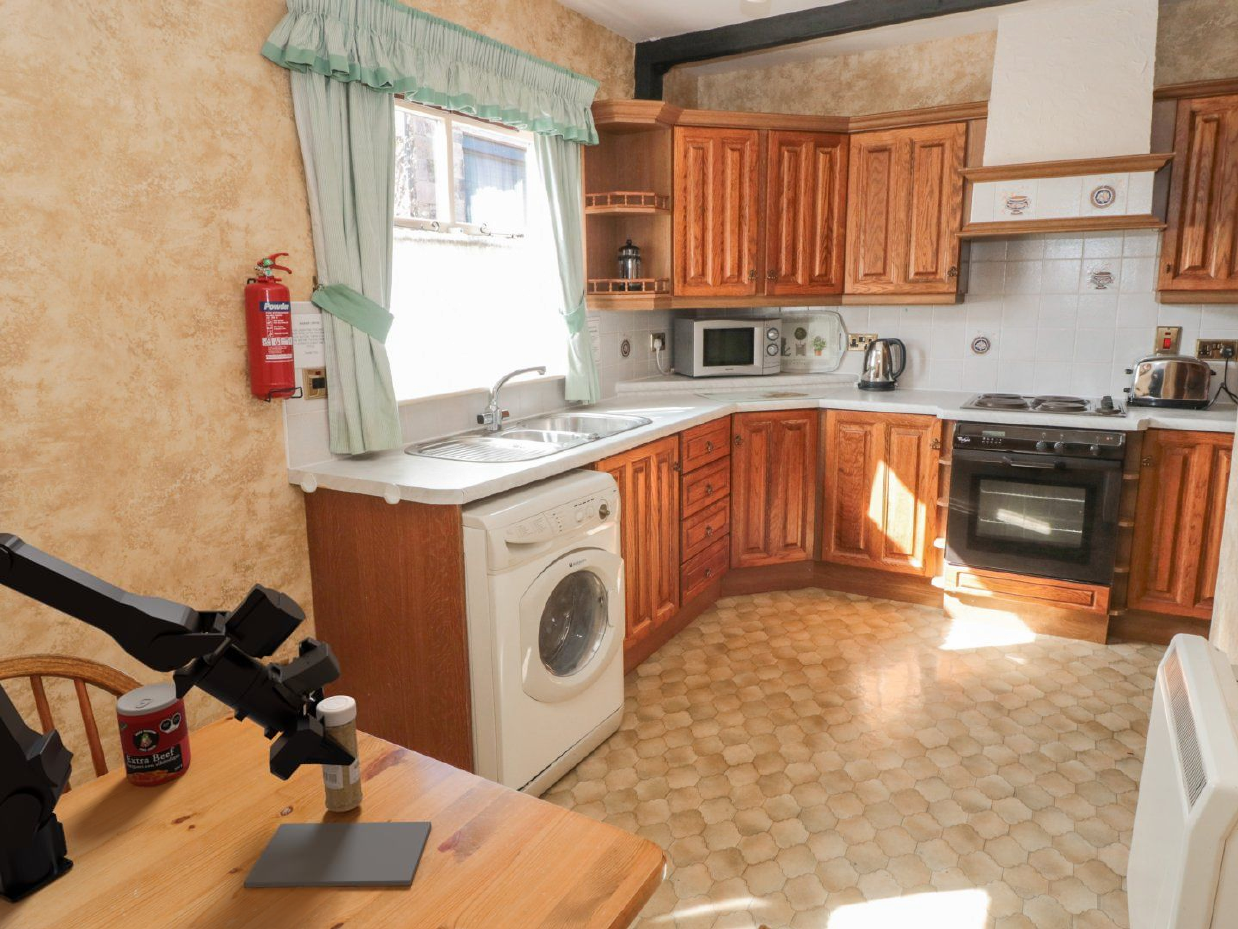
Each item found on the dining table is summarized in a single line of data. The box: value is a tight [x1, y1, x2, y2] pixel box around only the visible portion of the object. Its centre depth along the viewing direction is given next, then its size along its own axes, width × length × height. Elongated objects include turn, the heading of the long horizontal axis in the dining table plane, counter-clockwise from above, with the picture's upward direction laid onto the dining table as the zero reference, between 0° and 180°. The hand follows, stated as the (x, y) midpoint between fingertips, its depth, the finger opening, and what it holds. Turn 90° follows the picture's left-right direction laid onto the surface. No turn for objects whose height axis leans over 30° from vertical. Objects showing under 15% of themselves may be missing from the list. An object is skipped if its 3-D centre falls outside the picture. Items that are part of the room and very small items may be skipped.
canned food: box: [115, 682, 192, 788], centre depth 110 cm, size 8×8×11 cm
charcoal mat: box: [243, 821, 432, 888], centre depth 94 cm, size 18×10×1 cm, turn 90°
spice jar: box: [316, 695, 364, 813], centre depth 101 cm, size 5×5×14 cm
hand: (351, 752), depth 102 cm, fingers closed on spice jar, 4 cm apart
